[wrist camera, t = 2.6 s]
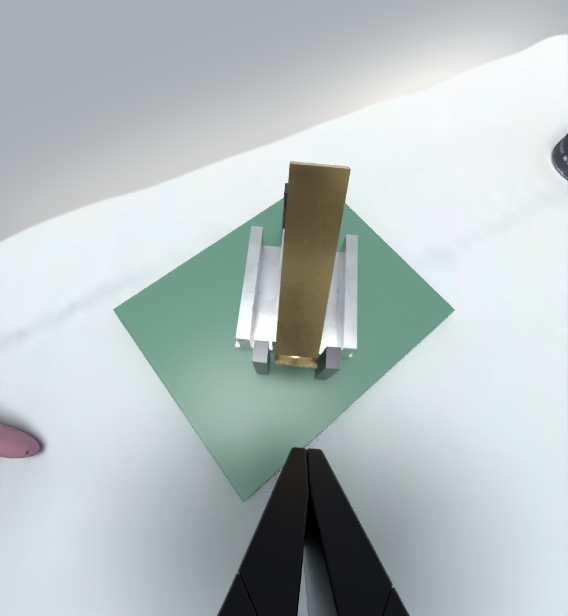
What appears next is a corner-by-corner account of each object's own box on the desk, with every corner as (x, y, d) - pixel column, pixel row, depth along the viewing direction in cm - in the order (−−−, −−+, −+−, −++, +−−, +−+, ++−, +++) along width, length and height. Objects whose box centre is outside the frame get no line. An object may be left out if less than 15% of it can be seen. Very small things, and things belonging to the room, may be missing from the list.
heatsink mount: (348, 382, 22) (370, 372, 17) (234, 371, 22) (222, 358, 17) (350, 233, 26) (369, 190, 21) (254, 225, 26) (249, 179, 21)
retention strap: (315, 360, 19) (316, 372, 18) (275, 356, 19) (273, 368, 18) (347, 165, 13) (351, 169, 12) (290, 160, 13) (289, 164, 12)
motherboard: (448, 314, 25) (455, 309, 24) (245, 498, 20) (243, 502, 19) (315, 183, 29) (316, 176, 28) (119, 313, 24) (113, 309, 23)
